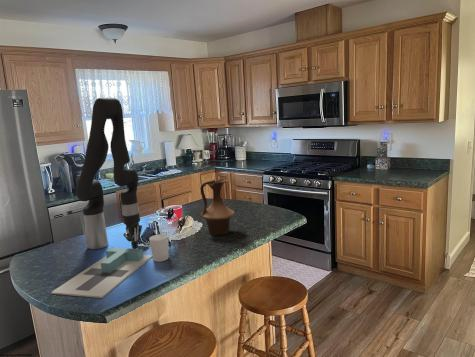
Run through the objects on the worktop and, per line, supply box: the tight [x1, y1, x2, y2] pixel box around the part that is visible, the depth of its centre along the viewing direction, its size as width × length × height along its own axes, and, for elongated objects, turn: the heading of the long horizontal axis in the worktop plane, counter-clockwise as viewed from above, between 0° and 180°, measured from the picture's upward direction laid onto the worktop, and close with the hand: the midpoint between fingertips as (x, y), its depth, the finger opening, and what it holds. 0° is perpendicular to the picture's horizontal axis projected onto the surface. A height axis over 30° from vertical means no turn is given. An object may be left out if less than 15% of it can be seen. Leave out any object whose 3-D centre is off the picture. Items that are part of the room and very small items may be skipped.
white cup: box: [148, 233, 169, 263], centre depth 161 cm, size 8×8×10 cm
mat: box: [50, 254, 153, 299], centre depth 151 cm, size 22×37×1 cm, turn 164°
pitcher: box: [200, 179, 235, 236], centre depth 189 cm, size 18×17×28 cm
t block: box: [101, 247, 144, 273], centre depth 158 cm, size 16×16×4 cm
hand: (135, 248), depth 172 cm, fingers closed
